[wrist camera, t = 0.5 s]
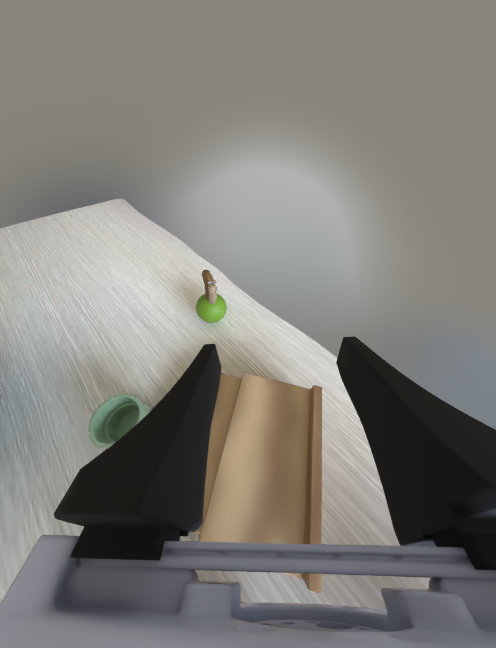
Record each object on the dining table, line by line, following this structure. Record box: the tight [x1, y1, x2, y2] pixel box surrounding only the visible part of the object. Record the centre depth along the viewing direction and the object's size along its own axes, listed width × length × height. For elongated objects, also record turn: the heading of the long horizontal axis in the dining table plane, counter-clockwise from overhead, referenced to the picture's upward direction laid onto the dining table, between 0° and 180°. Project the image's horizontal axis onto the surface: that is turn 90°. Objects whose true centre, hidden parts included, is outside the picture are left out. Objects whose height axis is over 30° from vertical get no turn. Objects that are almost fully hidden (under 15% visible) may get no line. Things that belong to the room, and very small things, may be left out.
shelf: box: [193, 373, 322, 593], centre depth 22 cm, size 17×16×6 cm
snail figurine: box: [196, 270, 226, 322], centre depth 32 cm, size 5×6×12 cm
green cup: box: [88, 394, 152, 449], centre depth 24 cm, size 6×6×5 cm
